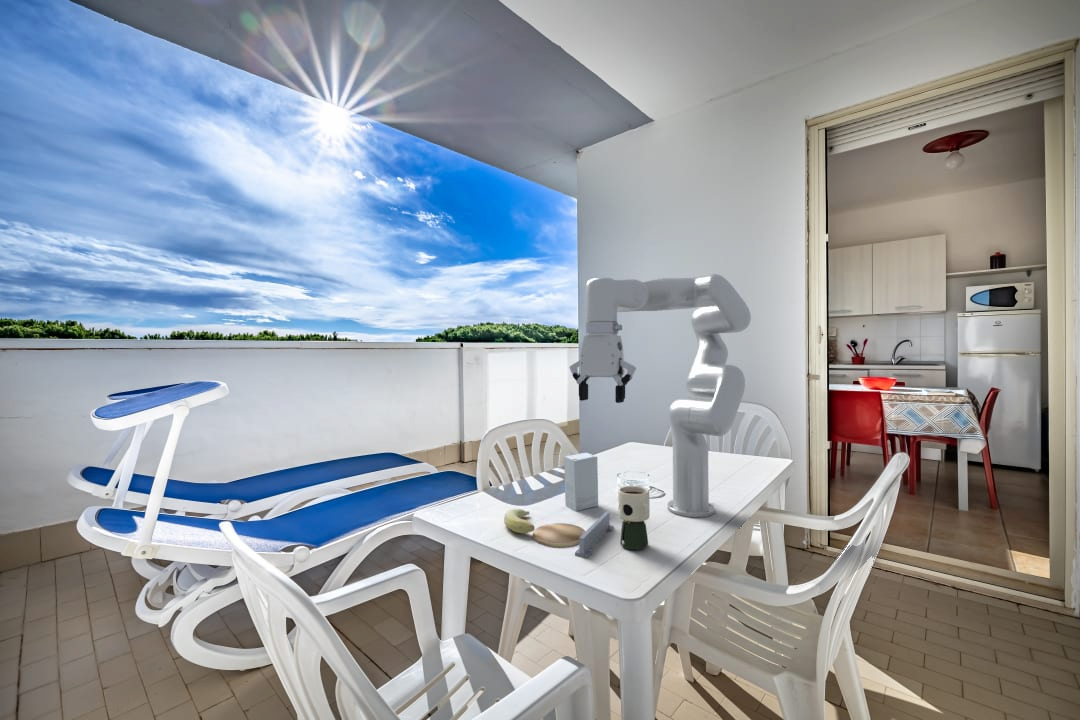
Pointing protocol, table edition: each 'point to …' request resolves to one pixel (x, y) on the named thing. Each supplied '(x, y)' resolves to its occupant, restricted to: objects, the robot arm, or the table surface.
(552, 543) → the coaster
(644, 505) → the character mug
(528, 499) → the table surface
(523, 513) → the fruit
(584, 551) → the grey cabinet handle
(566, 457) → the skincare box
